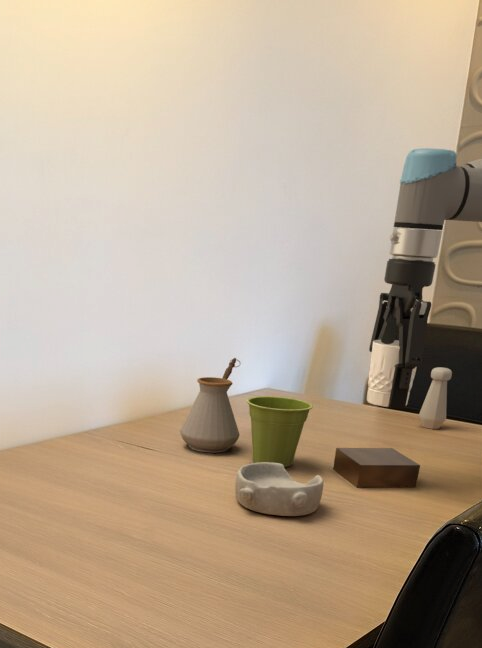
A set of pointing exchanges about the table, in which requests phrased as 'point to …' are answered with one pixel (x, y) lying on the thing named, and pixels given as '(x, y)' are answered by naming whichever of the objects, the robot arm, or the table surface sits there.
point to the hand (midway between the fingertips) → (386, 401)
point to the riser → (376, 467)
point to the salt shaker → (435, 399)
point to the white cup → (383, 372)
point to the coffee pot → (211, 416)
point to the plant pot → (276, 427)
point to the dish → (276, 490)
